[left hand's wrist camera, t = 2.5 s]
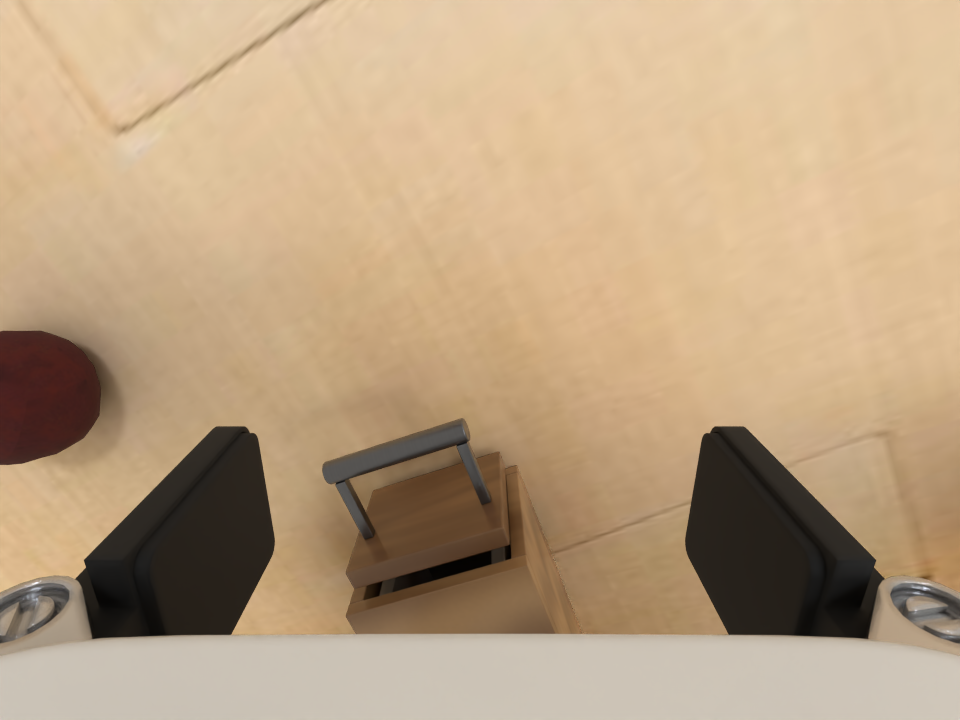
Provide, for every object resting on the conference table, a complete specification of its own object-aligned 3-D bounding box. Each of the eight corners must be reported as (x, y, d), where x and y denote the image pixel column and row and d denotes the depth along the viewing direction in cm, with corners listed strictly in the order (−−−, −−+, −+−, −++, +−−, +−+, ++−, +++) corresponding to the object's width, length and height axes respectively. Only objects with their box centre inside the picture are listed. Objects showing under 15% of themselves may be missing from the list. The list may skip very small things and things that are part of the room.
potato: (-13, 388, 33) (-135, 444, 27) (29, 289, 31) (-93, 324, 25) (100, 448, 35) (10, 516, 28) (147, 358, 33) (62, 408, 26)
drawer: (339, 423, 33) (300, 494, 26) (471, 380, 32) (467, 442, 25) (478, 698, 42) (476, 808, 35) (586, 671, 40) (607, 778, 33)
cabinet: (378, 507, 36) (345, 616, 28) (516, 464, 35) (527, 565, 26) (483, 714, 43) (483, 854, 35) (602, 685, 42) (632, 822, 33)
